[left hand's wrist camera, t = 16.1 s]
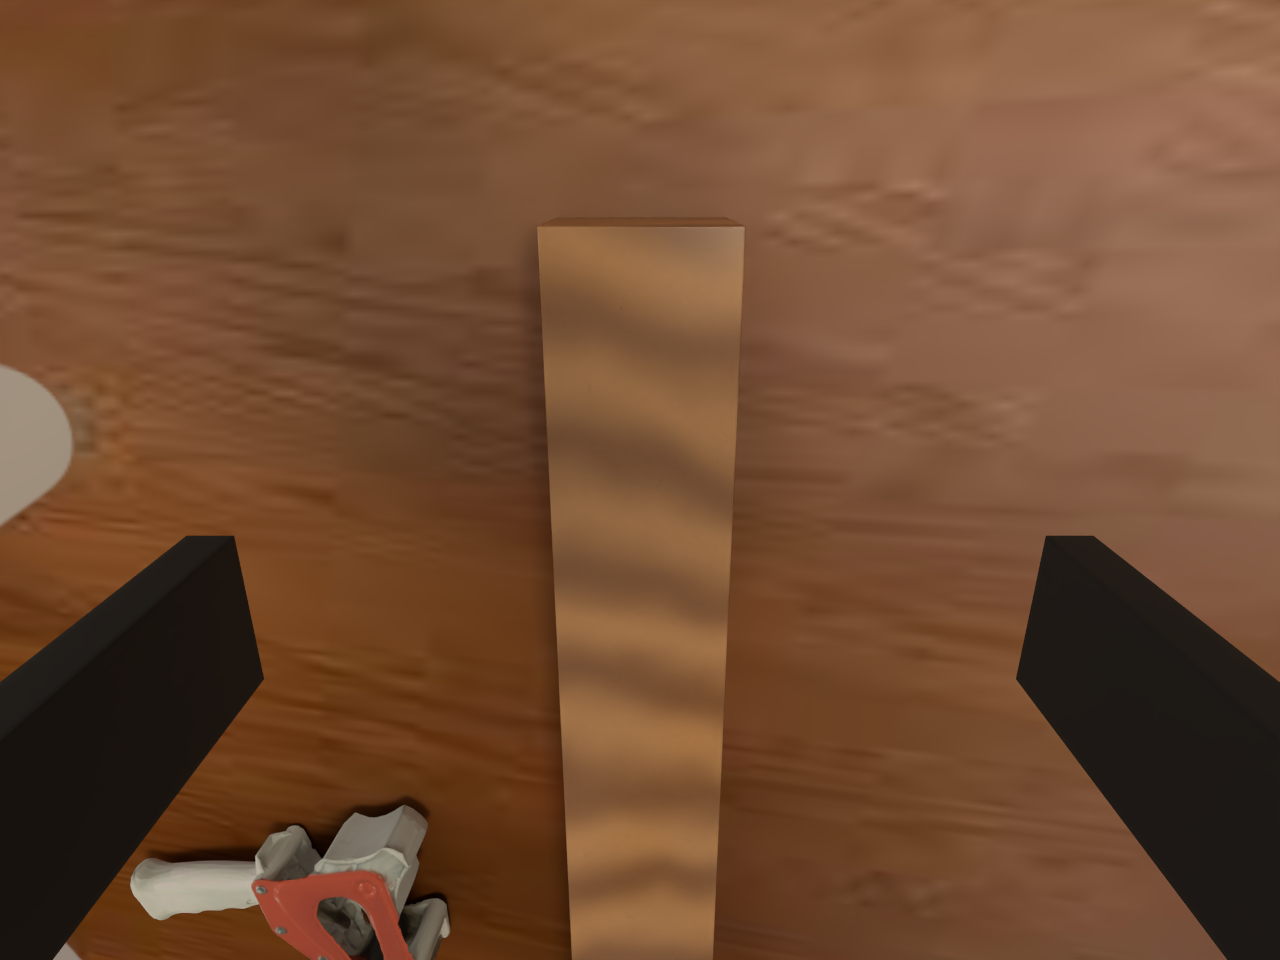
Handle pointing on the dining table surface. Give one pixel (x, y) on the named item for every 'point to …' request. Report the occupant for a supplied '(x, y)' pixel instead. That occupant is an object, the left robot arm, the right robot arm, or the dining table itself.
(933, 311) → the dining table surface
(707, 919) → the thick board
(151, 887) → the tape dispenser
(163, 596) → the left robot arm
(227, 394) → the dining table surface
